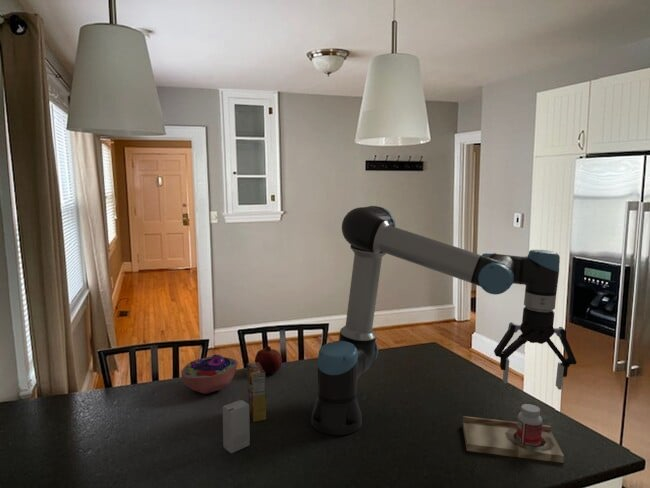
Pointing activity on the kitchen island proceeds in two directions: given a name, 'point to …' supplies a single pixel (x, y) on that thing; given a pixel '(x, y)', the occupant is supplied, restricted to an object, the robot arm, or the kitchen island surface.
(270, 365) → the fruit
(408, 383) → the kitchen island surface
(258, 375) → the candy box
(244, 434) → the skincare box
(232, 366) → the cell model
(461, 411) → the kitchen island surface
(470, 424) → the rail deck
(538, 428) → the pill bottle
